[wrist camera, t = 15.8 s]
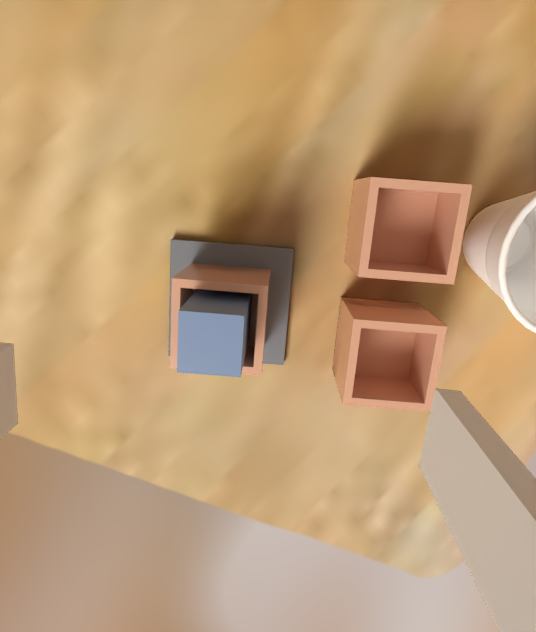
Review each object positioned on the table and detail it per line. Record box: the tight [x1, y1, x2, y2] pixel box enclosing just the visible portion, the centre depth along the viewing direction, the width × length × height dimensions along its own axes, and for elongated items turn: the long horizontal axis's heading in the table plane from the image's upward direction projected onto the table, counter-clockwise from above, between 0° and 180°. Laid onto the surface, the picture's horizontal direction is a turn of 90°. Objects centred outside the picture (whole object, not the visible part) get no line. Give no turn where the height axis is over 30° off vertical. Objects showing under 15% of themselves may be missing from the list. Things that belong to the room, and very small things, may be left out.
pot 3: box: [332, 297, 447, 412], centre depth 36 cm, size 6×6×7 cm
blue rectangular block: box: [177, 289, 252, 377], centre depth 32 cm, size 4×4×8 cm
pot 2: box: [344, 177, 472, 285], centre depth 33 cm, size 6×6×7 cm
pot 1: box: [170, 263, 271, 376], centre depth 35 cm, size 6×6×7 cm
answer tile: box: [169, 239, 294, 365], centre depth 39 cm, size 10×10×1 cm
